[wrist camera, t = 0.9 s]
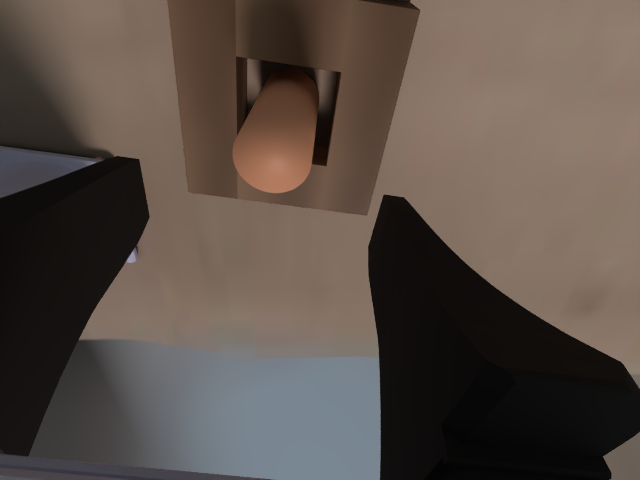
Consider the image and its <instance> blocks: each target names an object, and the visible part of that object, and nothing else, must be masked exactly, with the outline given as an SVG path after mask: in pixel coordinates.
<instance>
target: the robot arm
mask: <svg viewBox="0 0 640 480" xmlns="http://www.w3.org/2000/svg"><path fill="white" fill-rule="evenodd" d="M149 217H150V216H149V211H148V205H147V200H146V194H145V189H144V183H143V178H142V172H141V167H140V161H139V159H134V158H127V157H120V156H116V157H112V158H109V159H106V160H102V159H95V158H87V157H80V156H72V155H65V154H57V153H50V152H42V151H35V150H27V149H20V148H12V147H5V146H0V480H271V479H260V478H250V477H240V476H229V475H219V474H208V473H198V472H185V471H175V470H165V469H155V468H145V467H134V466H123V465H113V464H102V463H92V462H81V461H71V460H59V459H50V458H39V457H29V453H30V450H31V448H32V445H33V443H34V440H35V438H36V435H37V433H38V430H39V427H40V425H41V422H42V420H43V417H44V414H45V412H46V410H47V408H48V405H49V403H50V400H51V398H52V396H53V393H54V391H55V389H56V387H57V384H58V382H59V380H60V377H61V375H62V373H63V371H64V369H65V367H66V365H67V362H68V360H69V358H70V356H71V354H72V352H73V350H74V347H75V345H76V343H77V341H78V340H79V338H80V336H81V334H82V332H83V330H84V328H85V326H86V324H87V322H88V320H89V318H90V316H91V314H92V313H93V311H94V309H95V308H96V306H97V304H98V303H99V301H100V300H101V298H102V297H103V295H104V294H105V292H106V291H107V289H108V288H109V286H110V285H111V283H112V282H113V280H114V279H115V277H116V276H117V274H118V273H119V271H120V270H121V268H122V267H123V265H124V264H125V262H129V263H133V262H135V261H136V259H137V258H138V254H137V250H136V245H137V244H138V242H139V240H140V238H141V235H142V233H143V231H144V229H145V227H146V224H147V222H148V220H149ZM368 269H369V281H370V288H371V295H372V302H373V308H374V315H375V322H376V329H377V335H378V345H379V364H380V397H381V398H380V401H381V466H380V480H609V479H611V471H610V469H609V468H608V466H607V464H606V462H605V460H604V458H603V456H604V455H606V454H607V453H609V452H611V451H612V450H614V449H615V448H617V447H618V446H620V445H621V444H623V443H624V442H626V441H627V440H629V439H630V438H632V437H634V436H635V435H636V434H637V433H639V432H640V389H639V388H638V386H637V384H636V383H635V381H634V380H633V378H632V377H631V375H630V374H629V372H628V371H627V369H626V368H625V366H624V365H623V364H622V362H620V361H618V360H616V359H614V358H612V357H610V356H608V355H606V354H604V353H602V352H600V351H598V350H597V349H595V348H593V347H591V346H589V345H587V344H585V343H583V342H581V341H579V340H577V339H575V338H573V337H571V336H570V335H568V334H566V333H564V332H563V331H561V330H559V329H558V328H556V327H554V326H552V325H551V324H549V323H547V322H546V321H544V320H542V319H541V318H539V317H537V316H536V315H534V314H533V313H531V312H530V311H528V310H526V309H525V308H523V307H522V306H520V305H519V304H518V303H516V302H515V301H513V300H512V299H510V298H509V297H508V296H506V295H505V294H503V293H502V292H500V291H499V290H498V289H496V288H495V287H494V286H492V285H491V284H490V283H489V282H487V281H486V280H485V279H484V278H482V277H481V276H480V275H479V274H478V273H476V272H475V271H474V270H473V269H472V268H470V267H469V266H468V265H467V264H466V263H465V262H464V261H463V260H462V259H461V258H459V257H458V256H457V255H456V254H455V253H454V252H453V251H452V250H451V249H450V248H449V247H448V246H447V245H446V244H445V243H444V242H443V241H442V240H441V239H440V237H439V236H438V235H437V234H436V233H435V232H434V231H433V230H432V229H431V228H430V226H429V225H428V224H427V223H426V222H425V221H424V220H423V218H422V217H421V216H420V215H419V214H418V213H417V212H416V210H415V209H414V208H413V207H412V206H411V205H410V204H409V202H408V201H407V200H406V199H405V198H404V197H397V196H390V195H384V196H383V199H382V202H381V206H380V209H379V213H378V216H377V219H376V223H375V226H374V229H373V233H372V236H371V240H370V243H369V246H368Z"/></svg>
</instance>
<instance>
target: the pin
mask: <svg viewBox="0 0 640 480" xmlns="http://www.w3.org/2000/svg"><path fill="white" fill-rule="evenodd" d="M318 106H319V94H318V90H317V87H316V85H315V83H314V82H313V80H312V79H311V78H310V77H309V76H308V75H307V74H305V73H304V72H302V71H300V70H297V69H291V68H286V69H281V70H278V71H276V72H275V73H273V74H272V75H271V76H270V77H269V78H268V79H267V81H266V82H265V84H264V86H263V88H262V90H261V92H260V94H259V96H258V98H257V99H256V101H255V103H254V105H253V107H252V109H251V111H250V113H249V115H248V116H247V118H246V120H245V122H244V124H243V126H242V128H241V130H240V132H239V134H238V135H237V137H236V139H235V142H234V145H233V153H232V154H233V161H234V164H235V167H236V169H237V171H238V173H239V174H240V176H241V177H242V178H243V179H244V180H245V181H246V182H247V183H248V184H250V185H251V186H253V187H255V188H256V189H259V190H261V191H264V192H269V193H283V192H287V191H290V190H293V189H295V188H296V187H298V186H299V185H301V184H302V183H303V182H304V181H305V179H306V178H307V176H308V174H309V172H310V169H311V165H312V157H313V148H314V140H315V131H316V123H317V114H318Z"/></svg>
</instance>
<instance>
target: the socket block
mask: <svg viewBox="0 0 640 480" xmlns="http://www.w3.org/2000/svg"><path fill="white" fill-rule="evenodd" d="M168 9H169V18H170V27H171V36H172V45H173V55H174V64H175V73H176V82H177V91H178V101H179V110H180V119H181V128H182V137H183V146H184V156H185V165H186V174H187V183H188V192H190V193H198V194H206V195H213V196H221V197H229V198H236V199H244V200H252V201H259V202H267V203H275V204H282V205H290V206H298V207H305V208H313V209H321V210H328V211H336V212H344V213H351V214H359V215H367V214H368V210H369V206H370V202H371V199H372V195H373V191H374V187H375V183H376V179H377V175H378V171H379V168H380V164H381V160H382V156H383V152H384V148H385V144H386V141H387V137H388V133H389V129H390V125H391V121H392V117H393V114H394V110H395V106H396V102H397V98H398V94H399V90H400V87H401V83H402V79H403V75H404V71H405V67H406V63H407V60H408V56H409V52H410V48H411V44H412V40H413V36H414V33H415V29H416V25H417V21H418V17H419V13H420V10H419V9H418V8H417V7H415V6H414V5H413V4H412V3H410V2H403V1H397V0H168ZM247 58H251V59H258V60H264V61H271V62H277V63H284V64H291V65H297V66H304V67H311V68H317V69H324V70H330V71H337V72H339V75H338V81H337V88H336V94H335V101H334V107H333V114H332V120H331V127H330V133H329V140H328V146H326V145H319V144H314V148H313V157H312V165H311V169H310V172H309V174H308V176H307V178H306V179H305V181H304V182H303V183H302V184H301V185H299V186H298V187H296V188H295V189H293V190H290V191H287V192H283V193H269V192H264V191H261V190H259V189H256V188H255V187H253V186H251V185H250V184H248V183H247V182H246V181H245V180H244V179H243V178H242V177H241V176H240V174H239V173H238V171H237V169H236V167H235V164H234V161H233V154H232V153H233V145H234V142H235V139H236V137H237V135H238V134H239V132H240V130H241V128H242V126H243V124H244V122H245V120H246V118H247Z"/></svg>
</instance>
